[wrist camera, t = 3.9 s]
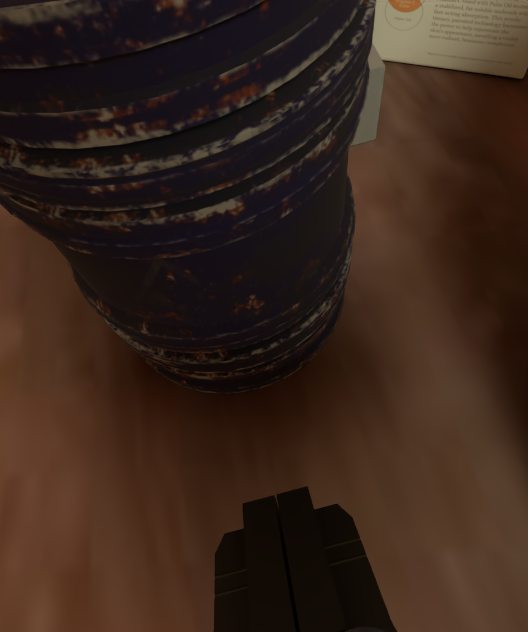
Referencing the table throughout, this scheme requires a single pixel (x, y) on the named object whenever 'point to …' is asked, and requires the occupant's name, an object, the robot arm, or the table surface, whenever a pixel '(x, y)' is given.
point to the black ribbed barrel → (191, 169)
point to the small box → (455, 34)
